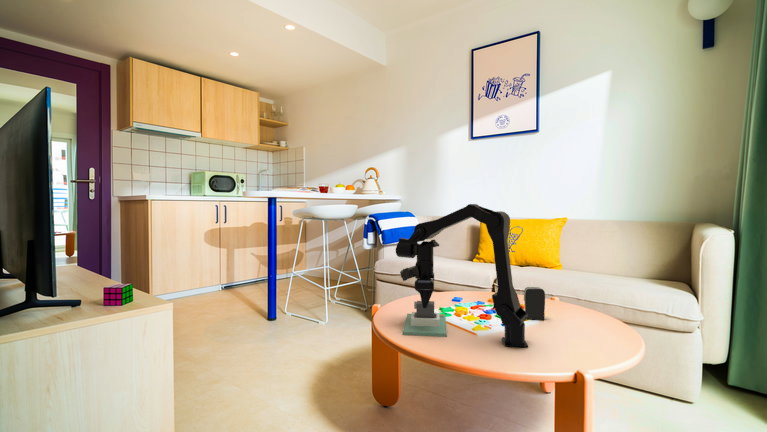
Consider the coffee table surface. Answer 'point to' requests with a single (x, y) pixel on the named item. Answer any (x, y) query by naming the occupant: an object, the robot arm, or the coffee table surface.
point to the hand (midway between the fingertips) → (425, 304)
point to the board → (425, 325)
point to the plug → (424, 310)
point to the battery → (534, 303)
